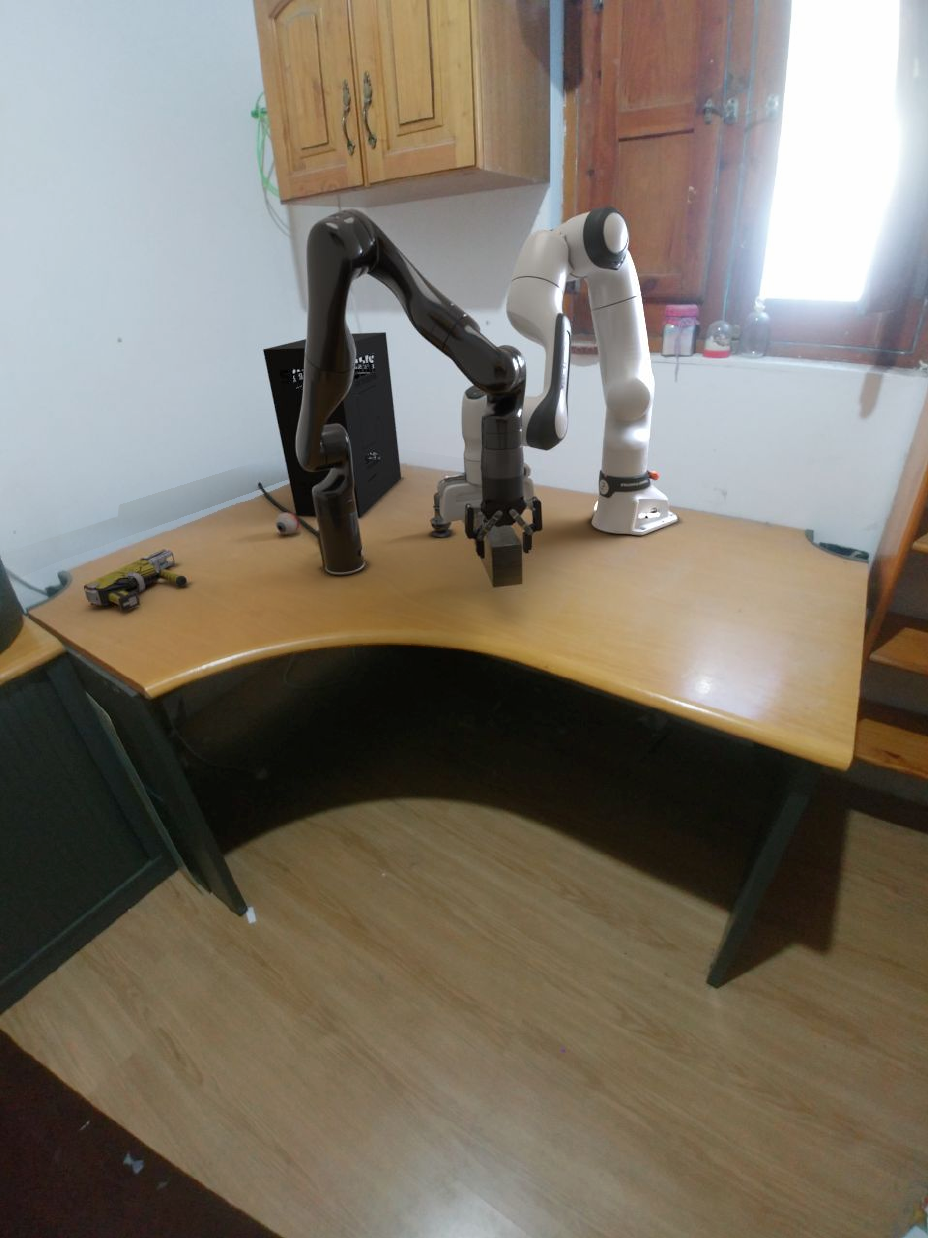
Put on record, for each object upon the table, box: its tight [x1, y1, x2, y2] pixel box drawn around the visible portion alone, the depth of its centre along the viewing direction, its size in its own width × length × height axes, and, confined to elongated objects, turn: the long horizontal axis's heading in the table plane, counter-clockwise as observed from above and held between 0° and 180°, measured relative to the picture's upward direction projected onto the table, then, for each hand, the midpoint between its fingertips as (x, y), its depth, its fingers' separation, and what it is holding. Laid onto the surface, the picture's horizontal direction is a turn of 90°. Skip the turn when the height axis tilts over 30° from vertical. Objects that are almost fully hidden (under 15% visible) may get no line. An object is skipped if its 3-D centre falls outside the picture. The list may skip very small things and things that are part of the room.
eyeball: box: [275, 511, 300, 536], centre depth 163 cm, size 6×6×6 cm
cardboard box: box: [262, 331, 402, 518], centre depth 180 cm, size 38×20×45 cm, turn 167°
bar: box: [473, 514, 524, 589], centre depth 121 cm, size 22×6×8 cm, turn 9°
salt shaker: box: [429, 491, 453, 538], centre depth 157 cm, size 6×6×12 cm
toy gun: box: [83, 548, 188, 613], centre depth 139 cm, size 5×24×15 cm
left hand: (504, 554), depth 114 cm, fingers open, 8 cm apart
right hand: (488, 533), depth 129 cm, fingers closed on bar, 6 cm apart
